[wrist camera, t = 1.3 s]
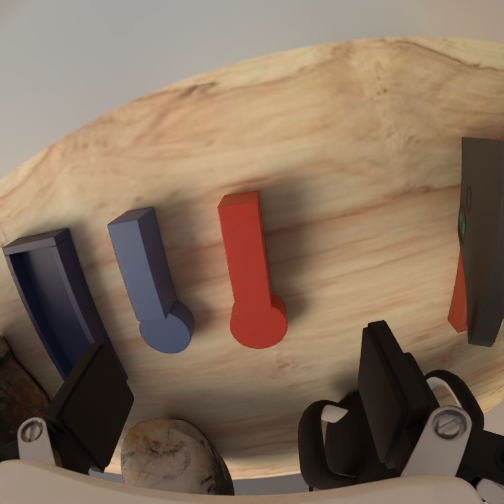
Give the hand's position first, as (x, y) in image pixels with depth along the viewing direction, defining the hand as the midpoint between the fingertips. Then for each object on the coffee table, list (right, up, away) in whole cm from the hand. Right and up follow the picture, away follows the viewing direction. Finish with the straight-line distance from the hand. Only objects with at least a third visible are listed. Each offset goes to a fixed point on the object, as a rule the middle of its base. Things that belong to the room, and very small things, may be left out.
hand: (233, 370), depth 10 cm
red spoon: (+1, +2, +11) cm, 12 cm away
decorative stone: (-5, -17, +20) cm, 27 cm away
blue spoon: (-6, +2, +12) cm, 13 cm away
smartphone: (+12, +6, +3) cm, 14 cm away
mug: (+13, -12, +17) cm, 25 cm away
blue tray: (-16, -1, +13) cm, 21 cm away
